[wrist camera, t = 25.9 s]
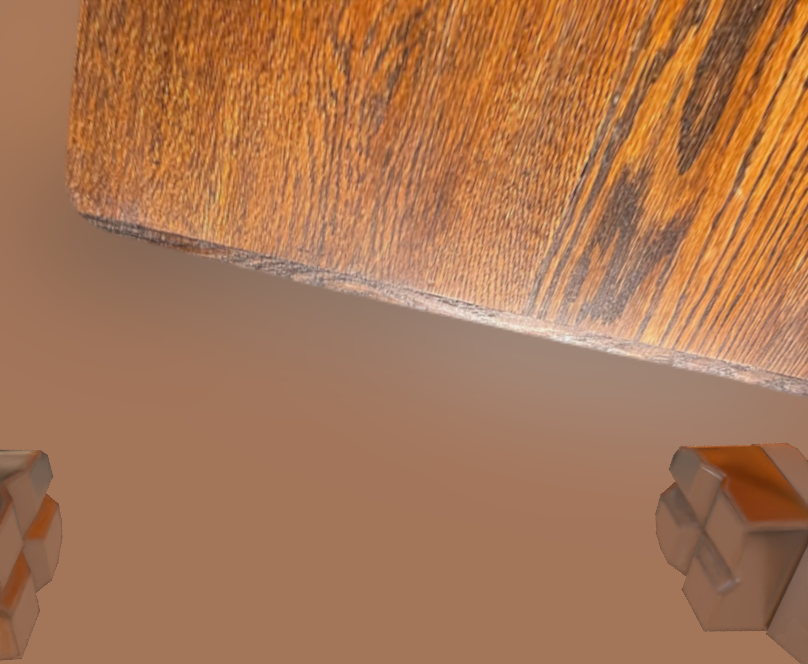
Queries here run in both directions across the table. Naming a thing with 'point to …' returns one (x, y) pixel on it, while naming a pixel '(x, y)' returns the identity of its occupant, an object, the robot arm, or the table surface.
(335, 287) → the table surface
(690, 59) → the table surface
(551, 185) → the table surface
